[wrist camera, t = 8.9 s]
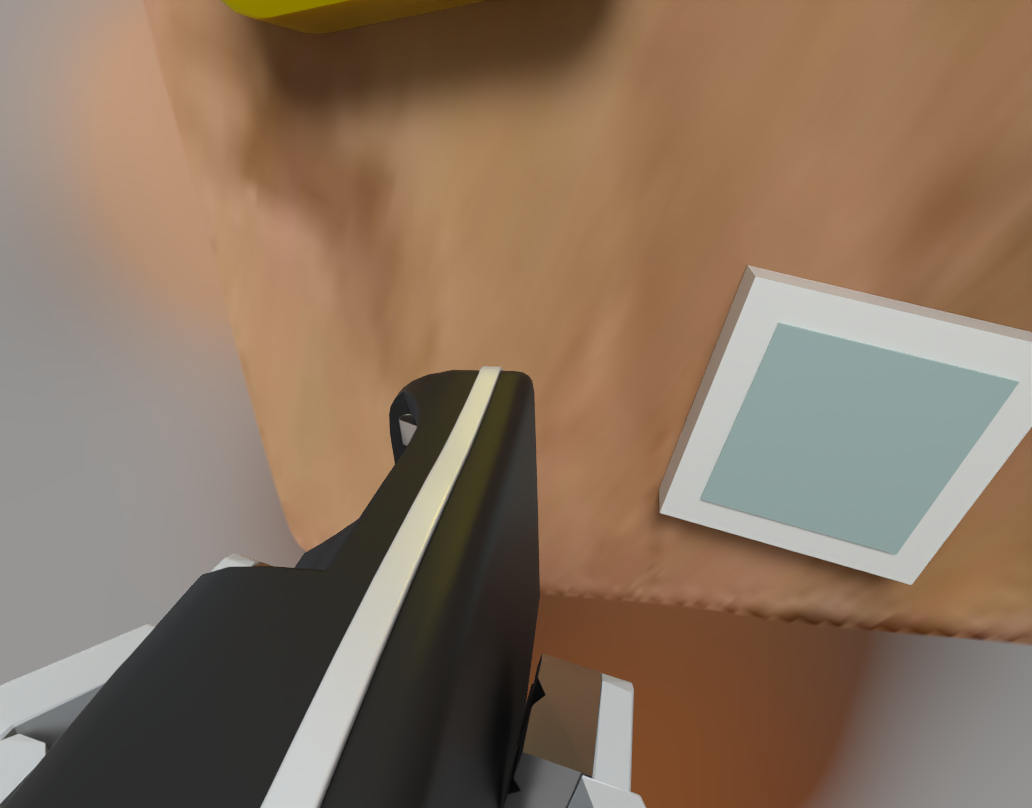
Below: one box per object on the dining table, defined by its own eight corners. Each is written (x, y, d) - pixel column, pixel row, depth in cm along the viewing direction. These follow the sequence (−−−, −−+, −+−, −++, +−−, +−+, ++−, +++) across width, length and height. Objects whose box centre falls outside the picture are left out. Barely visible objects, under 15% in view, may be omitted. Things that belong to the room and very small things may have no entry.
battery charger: (362, 351, 12) (-929, 1592, 2) (536, 353, 11) (50, 2107, 1) (404, 587, 15) (12, 1522, 5) (542, 597, 15) (412, 1665, 4)
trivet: (1051, 336, 22) (1088, 356, 20) (894, 555, 27) (912, 587, 26) (747, 265, 23) (756, 277, 21) (659, 489, 29) (659, 514, 27)
